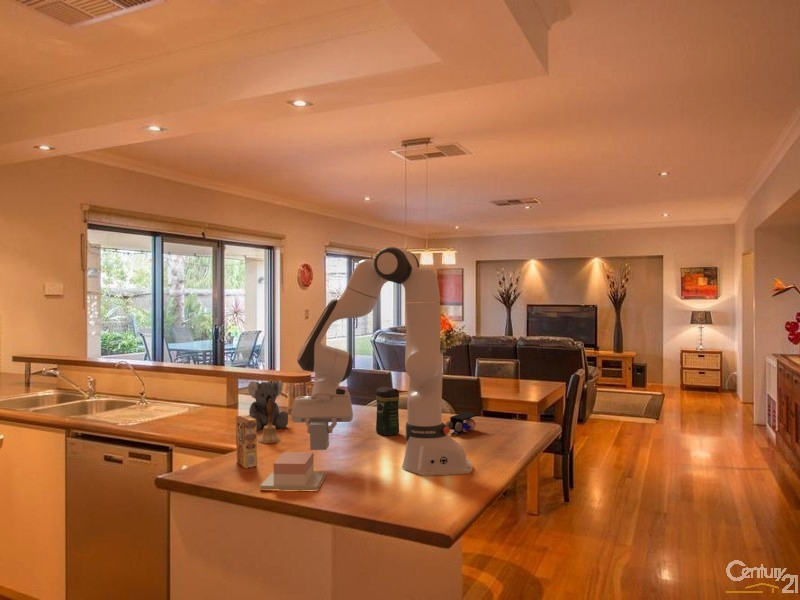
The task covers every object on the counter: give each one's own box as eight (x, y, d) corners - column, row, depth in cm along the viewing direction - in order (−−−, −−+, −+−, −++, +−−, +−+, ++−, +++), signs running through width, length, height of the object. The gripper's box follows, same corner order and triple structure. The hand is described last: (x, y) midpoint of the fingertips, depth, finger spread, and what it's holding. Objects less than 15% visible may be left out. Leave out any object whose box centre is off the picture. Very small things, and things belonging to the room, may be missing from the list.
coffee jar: (402, 434, 228) (402, 387, 228) (385, 437, 223) (385, 389, 223) (389, 429, 236) (389, 384, 235) (372, 432, 231) (372, 386, 231)
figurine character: (459, 441, 223) (479, 429, 235) (458, 422, 222) (478, 411, 234) (445, 438, 228) (465, 427, 239) (443, 419, 227) (464, 409, 238)
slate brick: (328, 445, 186) (328, 421, 186) (326, 449, 181) (325, 424, 181) (313, 445, 186) (313, 421, 186) (310, 449, 181) (309, 424, 181)
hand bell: (273, 437, 223) (273, 396, 223) (284, 440, 217) (284, 398, 217) (254, 440, 217) (254, 398, 217) (265, 444, 212) (265, 401, 212)
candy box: (257, 466, 184) (257, 419, 184) (244, 468, 182) (244, 420, 182) (247, 460, 191) (247, 414, 191) (235, 462, 189) (235, 416, 189)
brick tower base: (325, 476, 174) (325, 451, 174) (316, 491, 160) (316, 465, 160) (273, 475, 175) (273, 451, 175) (260, 490, 161) (260, 464, 161)
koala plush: (247, 432, 231) (247, 384, 231) (240, 423, 248) (240, 378, 247) (290, 428, 238) (290, 381, 238) (280, 420, 255) (280, 376, 255)
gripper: (292, 391, 192) (285, 427, 182) (353, 390, 191) (349, 426, 181) (295, 402, 196) (289, 437, 186) (355, 401, 195) (351, 437, 185)
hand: (319, 432), depth 184 cm, fingers closed on slate brick, 5 cm apart
